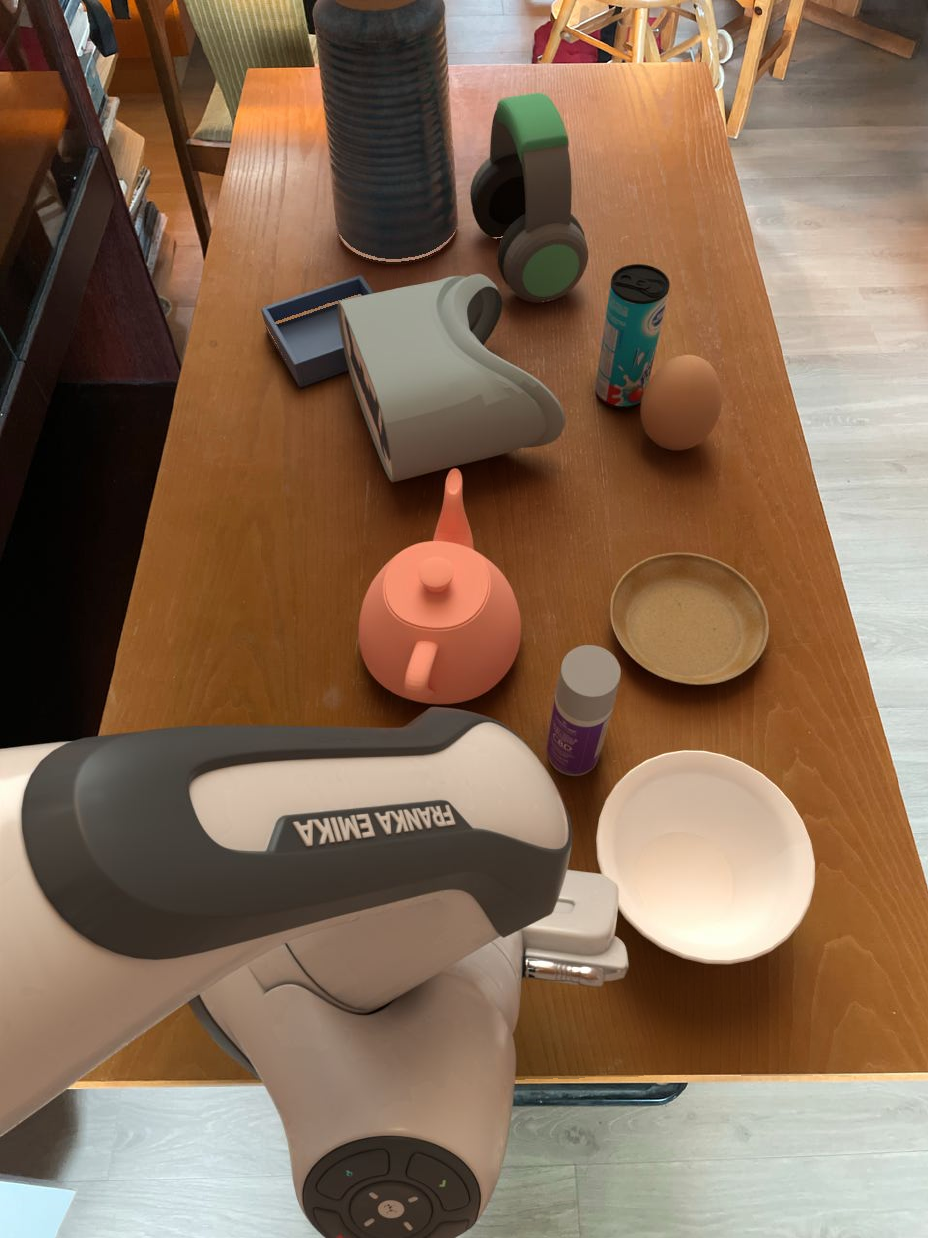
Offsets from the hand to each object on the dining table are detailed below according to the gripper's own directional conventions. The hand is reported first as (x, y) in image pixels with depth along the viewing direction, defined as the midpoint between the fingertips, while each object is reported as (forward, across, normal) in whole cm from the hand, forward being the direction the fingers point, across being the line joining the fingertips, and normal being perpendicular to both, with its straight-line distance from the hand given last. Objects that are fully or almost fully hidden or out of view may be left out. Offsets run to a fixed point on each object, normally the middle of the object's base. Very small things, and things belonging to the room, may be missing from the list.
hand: (468, 844), depth 62 cm
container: (+17, -8, -1) cm, 19 cm away
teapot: (+25, +6, -8) cm, 27 cm away
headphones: (+66, +3, -49) cm, 82 cm away
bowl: (+10, -17, +6) cm, 21 cm away
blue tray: (+53, +25, -37) cm, 69 cm away
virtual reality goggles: (+45, +9, -29) cm, 55 cm away
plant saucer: (+27, -17, -11) cm, 34 cm away
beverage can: (+50, -10, -33) cm, 61 cm away
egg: (+45, -16, -28) cm, 55 cm away
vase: (+69, +21, -53) cm, 89 cm away
